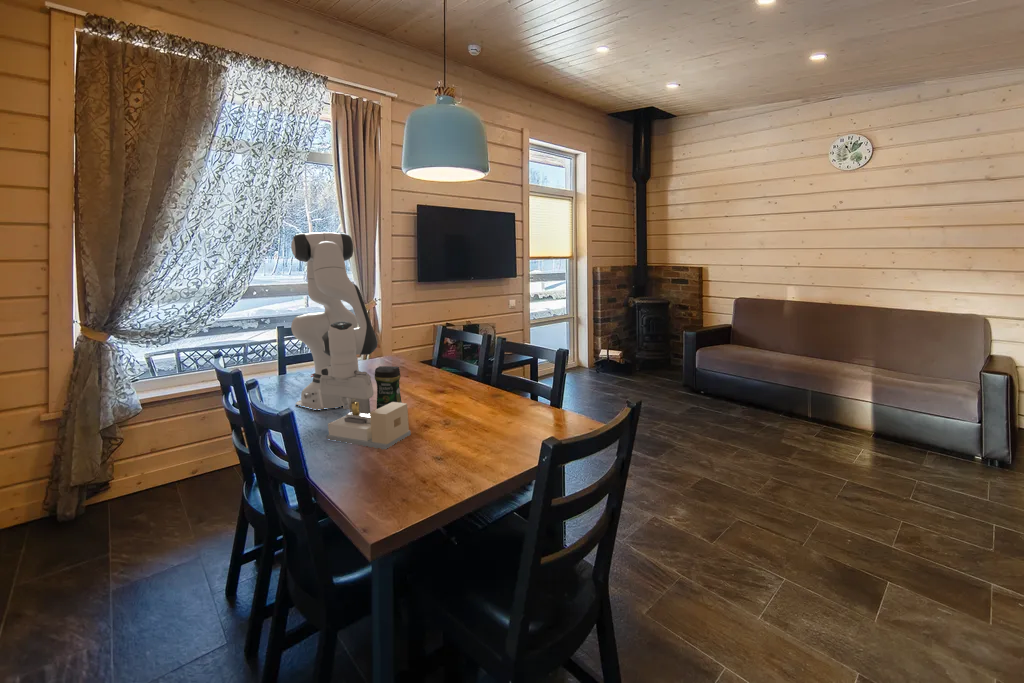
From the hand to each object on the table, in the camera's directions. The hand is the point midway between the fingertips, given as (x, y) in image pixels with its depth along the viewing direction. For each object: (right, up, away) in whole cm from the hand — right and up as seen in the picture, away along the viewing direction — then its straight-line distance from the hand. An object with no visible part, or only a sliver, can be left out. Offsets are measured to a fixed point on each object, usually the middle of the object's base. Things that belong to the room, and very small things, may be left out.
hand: (348, 409), depth 169 cm
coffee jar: (+8, -5, +25) cm, 27 cm away
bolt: (+5, -4, -1) cm, 6 cm away
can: (-2, -6, +20) cm, 21 cm away
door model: (+8, -10, -1) cm, 12 cm away
